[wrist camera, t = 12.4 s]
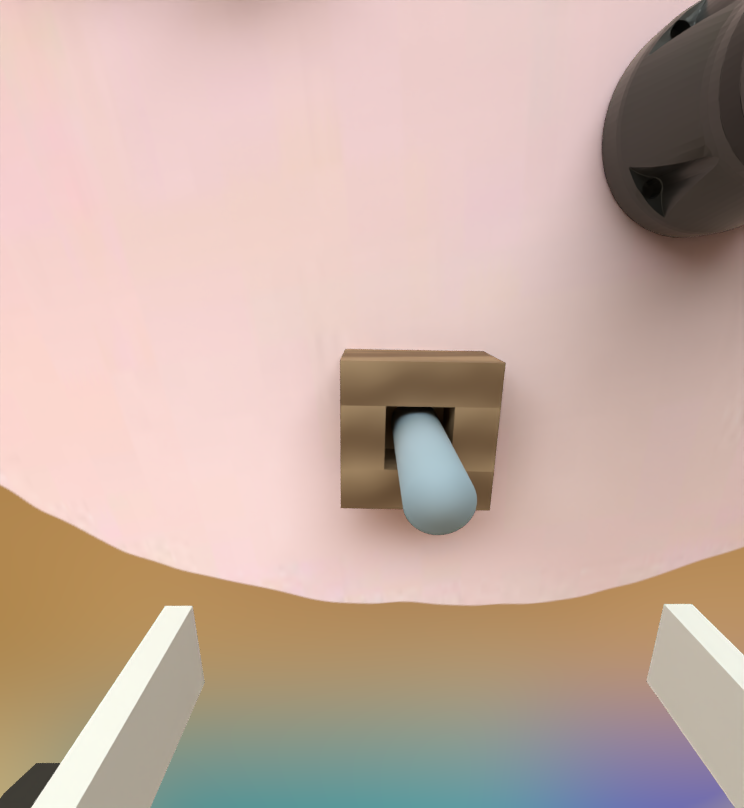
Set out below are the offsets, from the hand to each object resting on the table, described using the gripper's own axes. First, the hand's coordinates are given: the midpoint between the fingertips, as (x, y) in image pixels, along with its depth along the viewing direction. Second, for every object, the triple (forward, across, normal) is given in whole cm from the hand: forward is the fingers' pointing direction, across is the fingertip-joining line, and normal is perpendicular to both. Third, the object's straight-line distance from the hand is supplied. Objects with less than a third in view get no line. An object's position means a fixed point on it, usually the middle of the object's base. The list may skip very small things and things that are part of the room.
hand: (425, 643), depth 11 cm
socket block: (+26, +2, -1) cm, 26 cm away
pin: (+24, +2, -1) cm, 24 cm away
